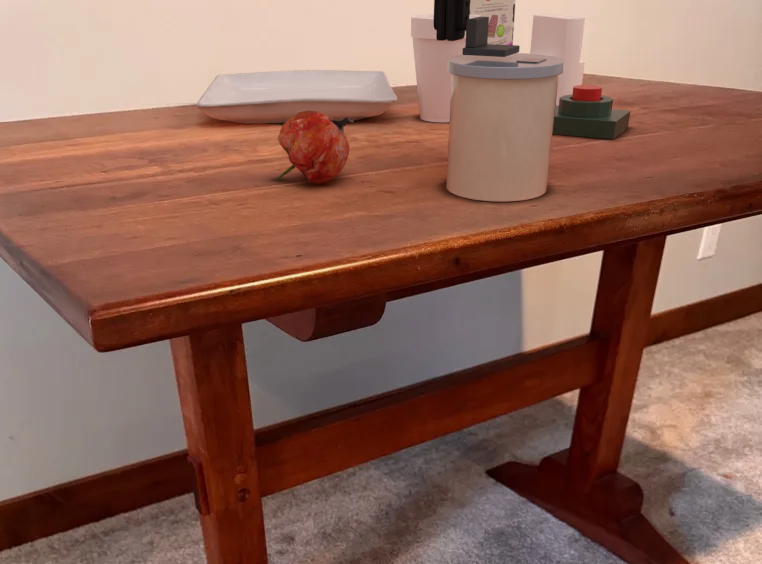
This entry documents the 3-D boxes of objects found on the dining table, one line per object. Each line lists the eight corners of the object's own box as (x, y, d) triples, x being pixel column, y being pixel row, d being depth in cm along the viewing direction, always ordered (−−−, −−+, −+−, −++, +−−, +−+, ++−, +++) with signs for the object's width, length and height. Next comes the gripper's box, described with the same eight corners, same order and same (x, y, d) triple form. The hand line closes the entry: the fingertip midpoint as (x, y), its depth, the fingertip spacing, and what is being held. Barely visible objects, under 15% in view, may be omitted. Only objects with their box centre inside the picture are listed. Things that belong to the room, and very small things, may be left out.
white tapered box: (508, 101, 125) (515, 15, 119) (556, 96, 128) (565, 13, 122) (541, 110, 117) (550, 20, 111) (592, 105, 120) (603, 17, 114)
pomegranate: (283, 212, 82) (357, 155, 77) (241, 150, 81) (314, 89, 76) (309, 201, 88) (379, 147, 84) (271, 143, 87) (340, 86, 82)
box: (628, 128, 106) (632, 96, 104) (613, 139, 100) (618, 105, 98) (554, 121, 110) (557, 91, 108) (535, 132, 104) (538, 100, 102)
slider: (519, 52, 76) (522, 17, 74) (504, 57, 73) (507, 20, 71) (477, 50, 77) (479, 16, 76) (461, 55, 74) (463, 19, 73)
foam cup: (489, 117, 113) (496, 15, 106) (445, 127, 107) (450, 20, 101) (439, 109, 119) (442, 12, 112) (395, 118, 114) (396, 16, 107)
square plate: (219, 96, 132) (217, 71, 130) (384, 93, 132) (384, 68, 130) (197, 129, 108) (194, 99, 106) (398, 125, 109) (398, 95, 107)
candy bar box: (489, 84, 140) (496, -22, 131) (510, 87, 136) (519, -22, 128) (443, 91, 134) (447, -20, 125) (464, 94, 130) (470, -19, 122)
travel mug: (563, 181, 82) (579, 54, 76) (530, 208, 74) (544, 68, 68) (466, 170, 87) (473, 49, 81) (424, 194, 79) (429, 62, 73)
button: (603, 100, 103) (605, 85, 103) (596, 104, 101) (598, 89, 100) (576, 98, 105) (577, 84, 104) (568, 102, 102) (569, 88, 101)
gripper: (361, -198, 67) (363, 40, 77) (532, -215, 61) (511, 46, 70) (400, -188, 73) (398, 33, 82) (561, -202, 67) (538, 38, 76)
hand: (450, 38), depth 76 cm, fingers closed
